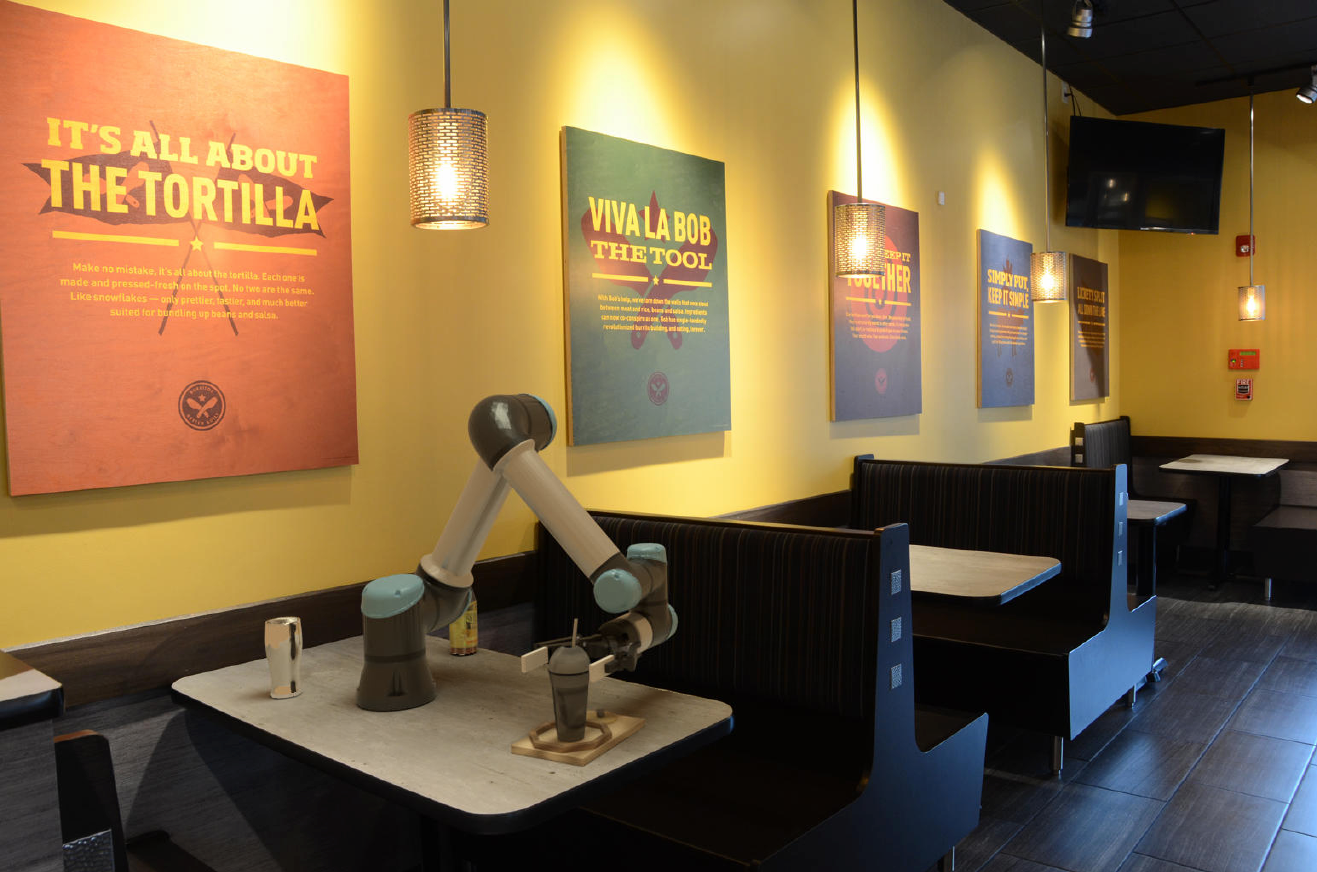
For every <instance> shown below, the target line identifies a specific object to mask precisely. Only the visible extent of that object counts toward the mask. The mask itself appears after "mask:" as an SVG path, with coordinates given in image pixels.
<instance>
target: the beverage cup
mask: <svg viewBox="0 0 1317 872" xmlns="http://www.w3.org/2000/svg"><path fill="white" fill-rule="evenodd" d="M578 620H579V619H578V618H574V622H573V629H572V630H573V633H572V636H573V639H572V644H569V645H564V646H561V647H560V648H558V649H557V650H556V651H555V652H554V653H553V655H552V657H551V659H550V660H549V661H548V668H547V672H548V676H549V682H550V684H551V696H552V702H553V712H554V721H555V724H556V730H557V738H558V740H559V741H562V742H577V741H580V740H582V739H584V733H585V728H586V713H587V710H588V698H589V697H588V695H589V682H590V678H589V665H591V664H592V663H591V659H590V658H589V657H588V655H587V654H586V653H587V652H586V650H584V648H583V649H582V648H580V647H579V646H576V645H575V641H576V635H577V629H578Z"/></svg>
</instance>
